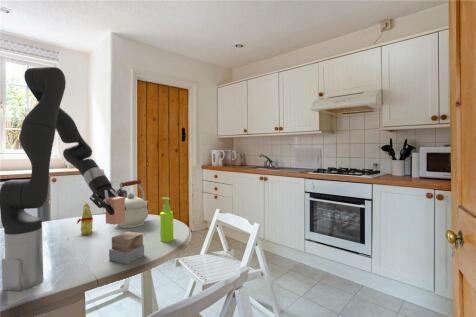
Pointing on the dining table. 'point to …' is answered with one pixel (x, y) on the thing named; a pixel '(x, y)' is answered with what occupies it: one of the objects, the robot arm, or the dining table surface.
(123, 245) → the tower top
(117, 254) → the tower base
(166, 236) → the soap dispenser
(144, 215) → the kettle
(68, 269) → the dining table surface
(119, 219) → the pillar
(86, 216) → the chocolate bunny
